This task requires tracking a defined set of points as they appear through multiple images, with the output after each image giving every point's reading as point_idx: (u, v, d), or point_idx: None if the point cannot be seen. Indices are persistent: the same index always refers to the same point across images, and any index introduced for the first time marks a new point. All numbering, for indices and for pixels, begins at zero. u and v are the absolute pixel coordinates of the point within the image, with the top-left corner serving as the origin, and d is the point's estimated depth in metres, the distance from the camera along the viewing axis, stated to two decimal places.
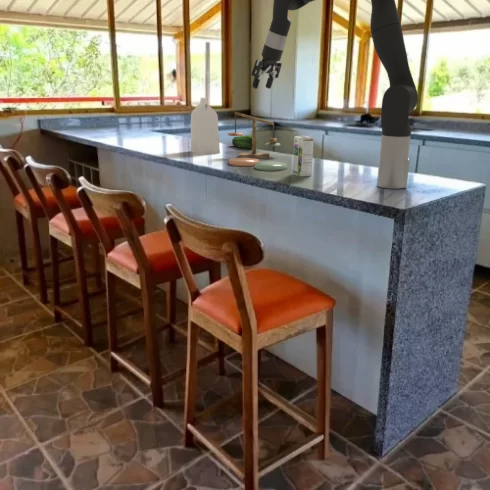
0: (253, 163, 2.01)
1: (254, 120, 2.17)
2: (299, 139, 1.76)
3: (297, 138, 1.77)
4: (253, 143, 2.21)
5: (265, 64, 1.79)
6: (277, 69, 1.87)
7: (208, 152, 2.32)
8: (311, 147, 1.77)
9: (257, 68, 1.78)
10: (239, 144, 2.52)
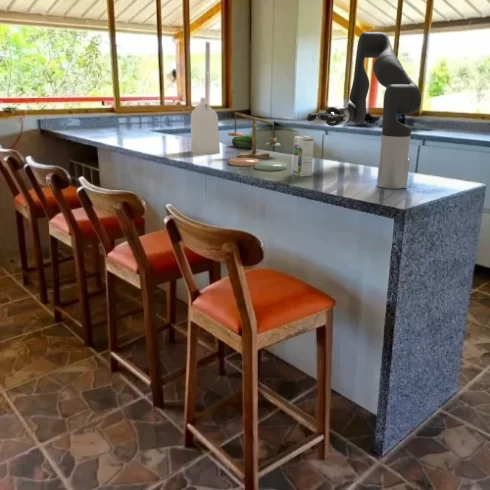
0: (253, 163, 2.01)
1: (254, 120, 2.17)
2: (299, 139, 1.76)
3: (297, 138, 1.77)
4: (253, 143, 2.21)
5: None
6: None
7: (208, 152, 2.32)
8: (311, 147, 1.77)
9: None
10: (239, 144, 2.52)
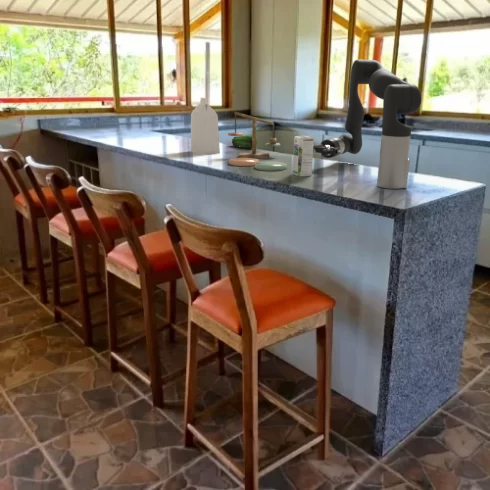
0: (253, 163, 2.01)
1: (254, 120, 2.17)
2: (299, 139, 1.76)
3: (297, 138, 1.77)
4: (253, 143, 2.21)
5: None
6: None
7: (208, 152, 2.32)
8: (311, 147, 1.77)
9: None
10: (239, 144, 2.52)
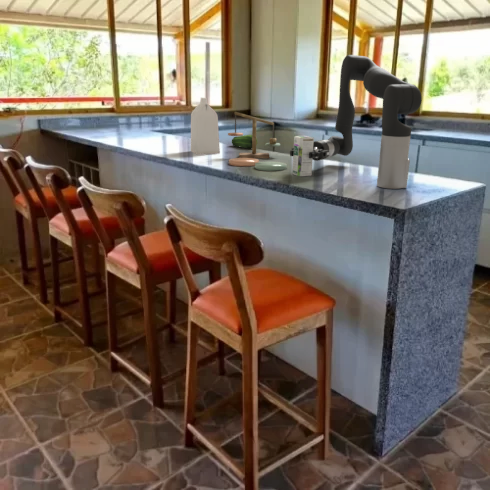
0: (253, 163, 2.01)
1: (254, 120, 2.17)
2: (299, 139, 1.76)
3: (297, 138, 1.77)
4: (253, 143, 2.21)
5: None
6: None
7: (208, 152, 2.32)
8: (311, 147, 1.77)
9: None
10: (240, 144, 2.52)
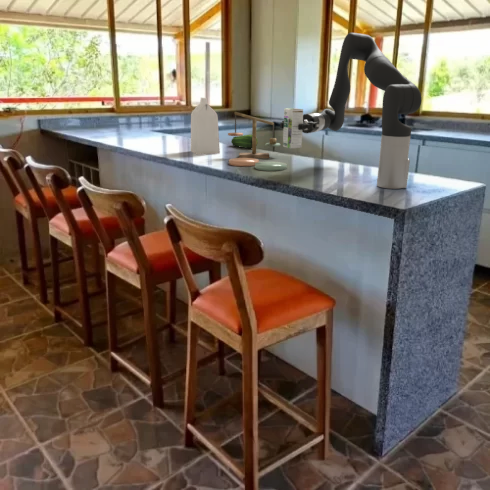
0: (253, 163, 2.01)
1: (254, 120, 2.17)
2: (288, 110, 1.77)
3: (287, 110, 1.79)
4: (253, 143, 2.21)
5: None
6: None
7: (208, 152, 2.32)
8: (301, 119, 1.79)
9: None
10: (240, 144, 2.53)
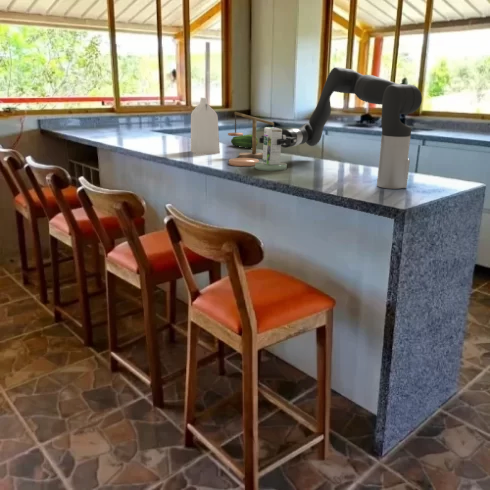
0: (253, 163, 2.01)
1: (254, 120, 2.17)
2: (268, 129, 1.89)
3: (266, 129, 1.91)
4: (253, 143, 2.21)
5: None
6: None
7: (208, 152, 2.32)
8: (279, 137, 1.91)
9: None
10: (240, 144, 2.53)
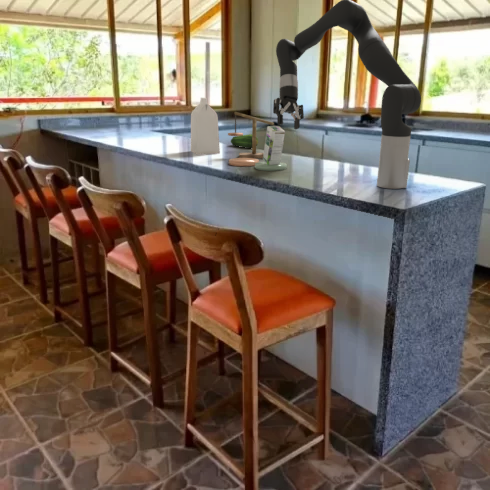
0: (253, 163, 2.01)
1: (254, 120, 2.17)
2: (271, 131, 1.86)
3: (269, 129, 1.87)
4: (253, 143, 2.21)
5: (283, 101, 1.92)
6: (300, 111, 1.97)
7: (208, 152, 2.32)
8: (282, 139, 1.88)
9: (276, 104, 1.90)
10: (240, 143, 2.54)
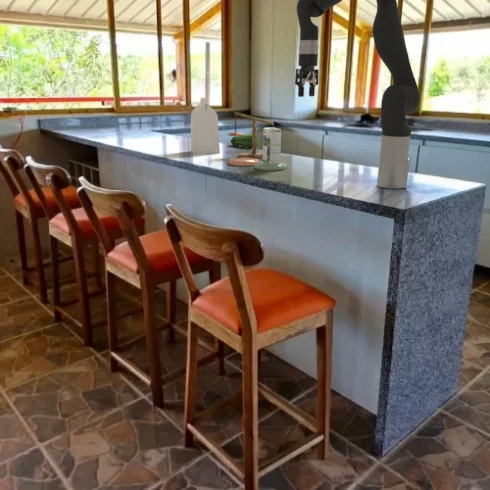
0: (253, 163, 2.01)
1: (254, 120, 2.17)
2: (267, 130, 1.89)
3: (266, 129, 1.90)
4: (253, 143, 2.21)
5: (305, 71, 1.86)
6: (316, 76, 1.93)
7: (208, 152, 2.32)
8: (279, 138, 1.91)
9: (299, 76, 1.84)
10: (240, 143, 2.54)
